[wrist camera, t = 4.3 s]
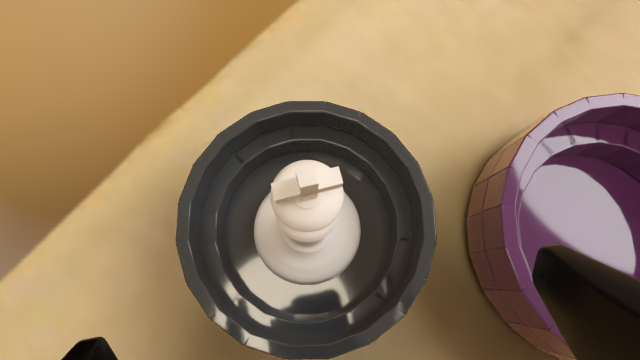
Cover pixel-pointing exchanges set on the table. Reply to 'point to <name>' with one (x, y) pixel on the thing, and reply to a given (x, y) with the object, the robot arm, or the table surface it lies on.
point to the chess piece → (307, 224)
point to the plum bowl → (557, 206)
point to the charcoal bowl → (239, 245)
